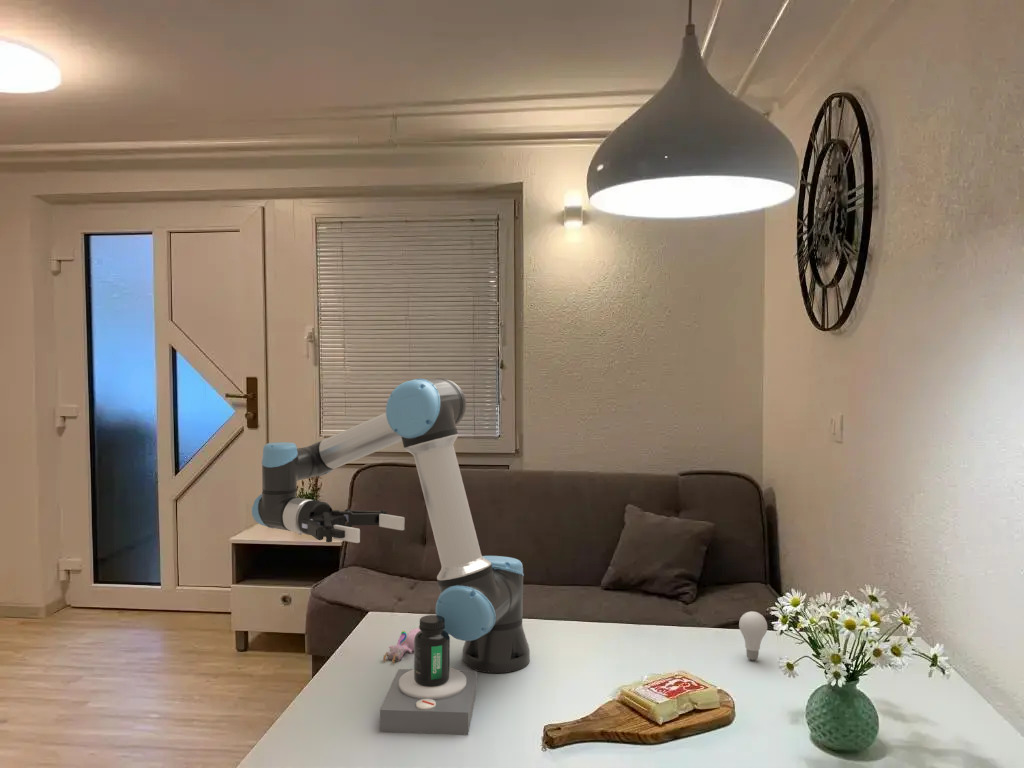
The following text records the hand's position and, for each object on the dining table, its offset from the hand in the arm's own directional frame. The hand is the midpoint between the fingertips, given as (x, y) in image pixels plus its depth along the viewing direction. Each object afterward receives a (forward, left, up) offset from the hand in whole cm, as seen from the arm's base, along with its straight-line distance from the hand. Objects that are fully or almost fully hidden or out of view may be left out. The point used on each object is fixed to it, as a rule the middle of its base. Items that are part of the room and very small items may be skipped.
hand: (381, 529), depth 156 cm
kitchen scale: (+11, +12, -32) cm, 36 cm away
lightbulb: (-18, +81, -32) cm, 89 cm away
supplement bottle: (+9, +12, -27) cm, 31 cm away
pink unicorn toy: (-17, +3, -32) cm, 36 cm away
